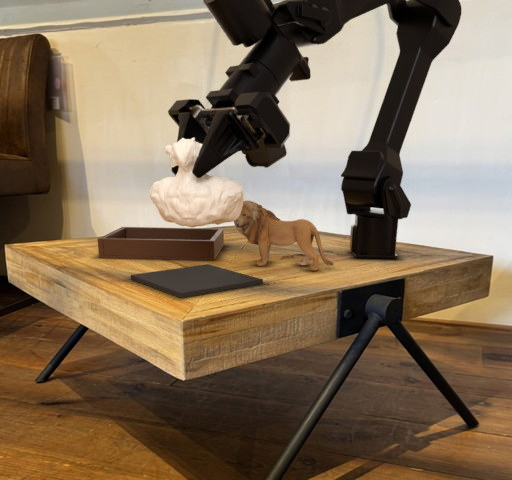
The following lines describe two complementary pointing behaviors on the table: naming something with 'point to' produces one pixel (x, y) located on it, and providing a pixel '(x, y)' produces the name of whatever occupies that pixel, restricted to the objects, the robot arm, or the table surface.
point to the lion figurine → (278, 233)
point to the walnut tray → (162, 243)
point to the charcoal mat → (195, 280)
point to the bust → (195, 191)
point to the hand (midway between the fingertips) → (184, 174)
